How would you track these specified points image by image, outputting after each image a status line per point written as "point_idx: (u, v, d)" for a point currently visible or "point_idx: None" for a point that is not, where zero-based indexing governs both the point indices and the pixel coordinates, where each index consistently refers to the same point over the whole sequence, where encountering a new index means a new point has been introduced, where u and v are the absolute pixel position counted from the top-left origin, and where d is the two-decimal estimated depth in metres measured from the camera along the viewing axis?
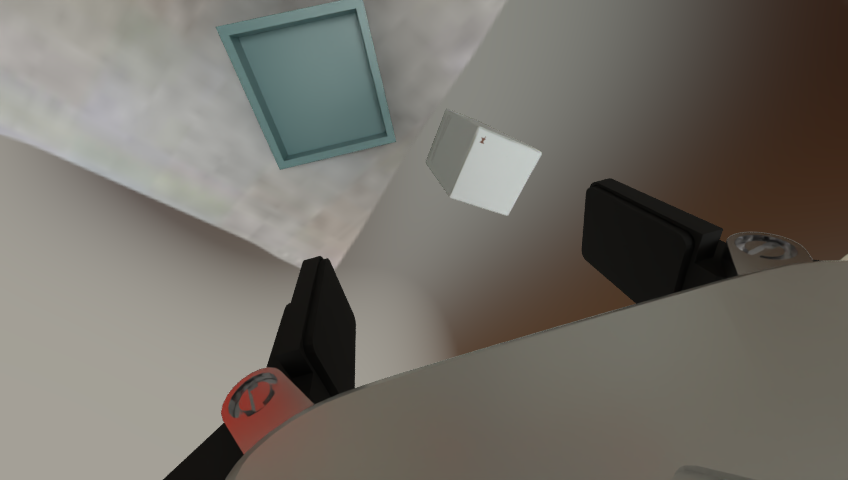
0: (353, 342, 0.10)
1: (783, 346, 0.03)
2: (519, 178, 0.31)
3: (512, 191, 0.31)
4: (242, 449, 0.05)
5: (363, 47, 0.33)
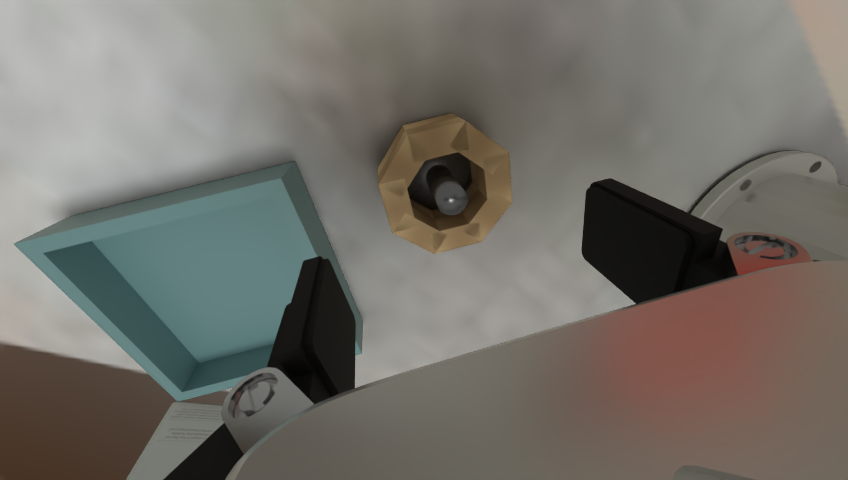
0: (353, 342, 0.10)
1: (784, 347, 0.03)
2: None
3: None
4: (242, 449, 0.05)
5: None
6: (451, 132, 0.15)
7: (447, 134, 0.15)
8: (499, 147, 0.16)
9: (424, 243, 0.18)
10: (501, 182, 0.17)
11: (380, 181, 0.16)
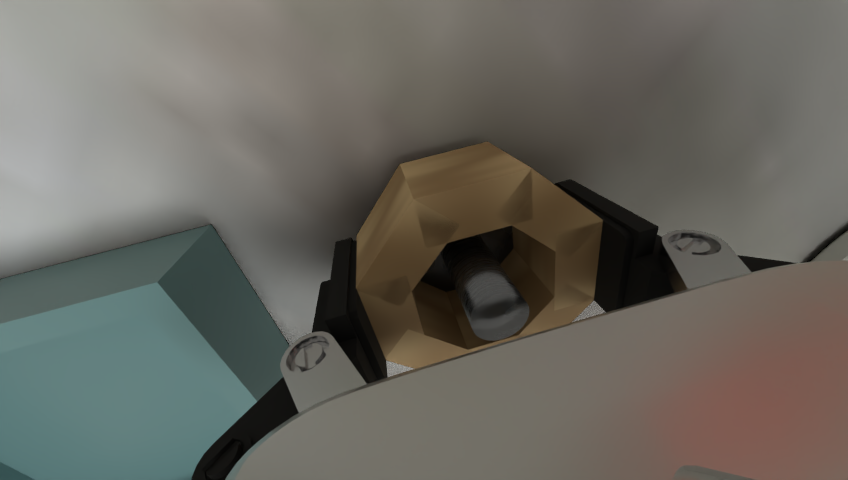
0: None
1: (784, 346, 0.03)
2: None
3: None
4: (294, 399, 0.06)
5: None
6: (501, 190, 0.07)
7: (493, 194, 0.07)
8: (588, 213, 0.08)
9: None
10: (582, 270, 0.09)
11: (359, 283, 0.08)
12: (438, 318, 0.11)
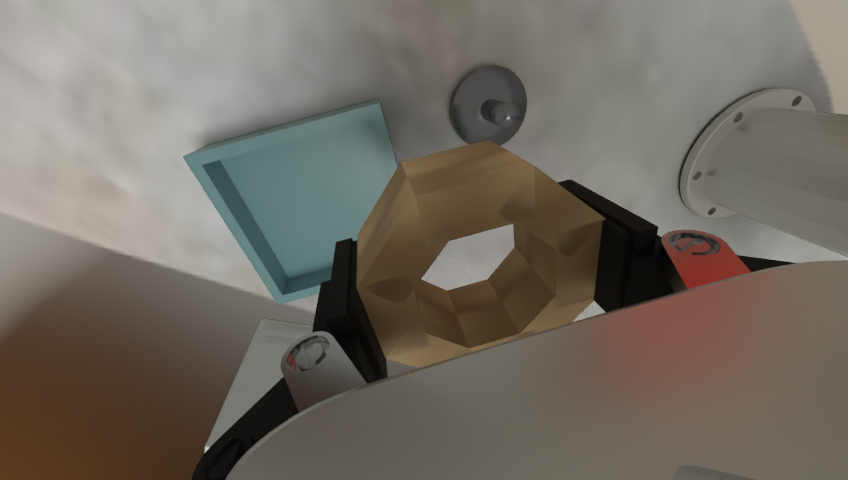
0: None
1: (784, 346, 0.03)
2: None
3: None
4: (294, 399, 0.06)
5: None
6: (503, 188, 0.07)
7: (495, 192, 0.07)
8: (590, 211, 0.08)
9: None
10: (584, 268, 0.09)
11: (360, 281, 0.08)
12: (439, 317, 0.11)
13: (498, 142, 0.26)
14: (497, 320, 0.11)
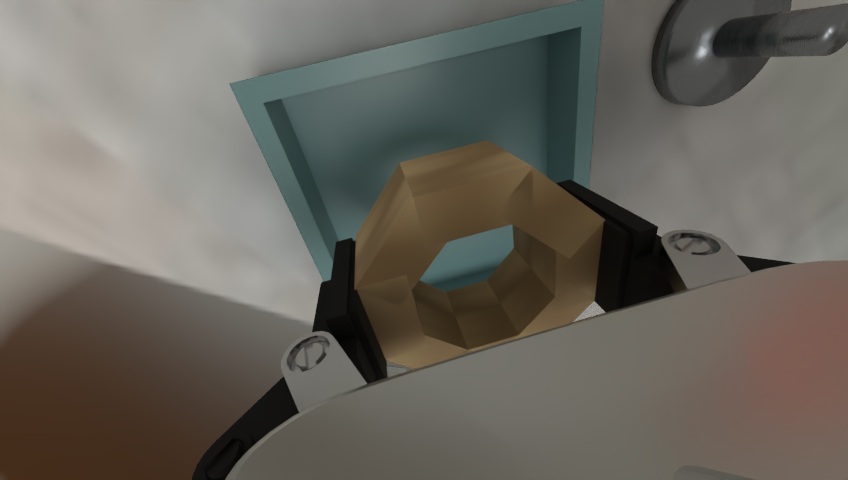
0: None
1: (784, 346, 0.03)
2: None
3: None
4: (294, 399, 0.06)
5: None
6: (502, 189, 0.07)
7: (494, 193, 0.07)
8: (589, 212, 0.08)
9: None
10: (583, 269, 0.09)
11: (358, 282, 0.08)
12: (438, 318, 0.11)
13: (720, 97, 0.16)
14: (496, 321, 0.11)
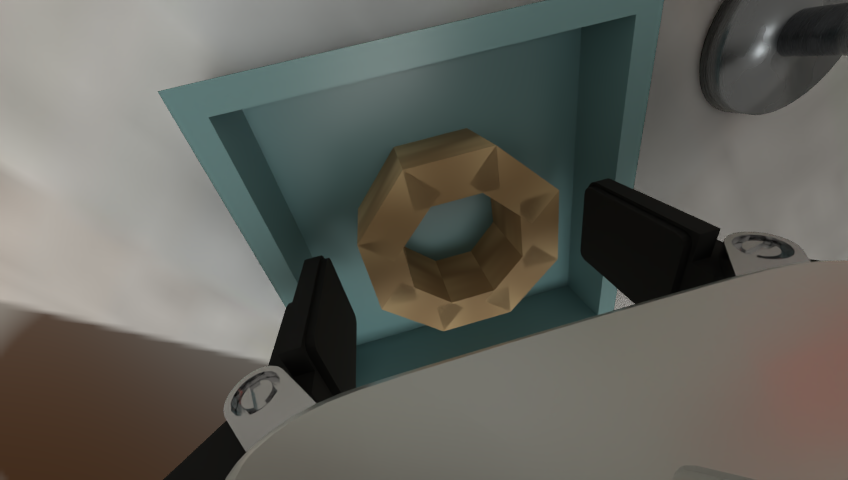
0: (354, 341, 0.10)
1: (784, 347, 0.03)
2: None
3: None
4: (244, 447, 0.05)
5: None
6: (473, 163, 0.09)
7: (466, 167, 0.09)
8: (545, 183, 0.10)
9: (429, 319, 0.12)
10: (544, 233, 0.11)
11: (360, 240, 0.10)
12: (427, 278, 0.13)
13: (779, 103, 0.13)
14: (476, 281, 0.13)
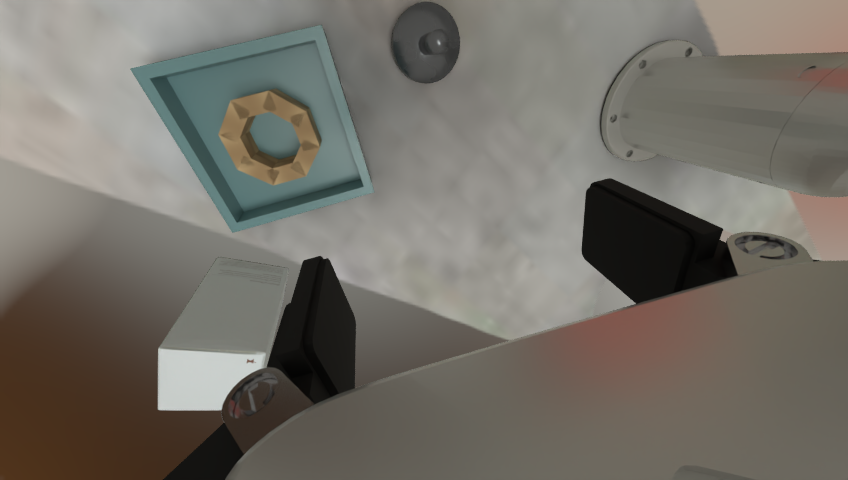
0: (353, 342, 0.10)
1: (783, 346, 0.03)
2: (216, 404, 0.26)
3: (196, 403, 0.25)
4: (242, 449, 0.05)
5: (332, 185, 0.31)
6: (261, 98, 0.24)
7: (258, 99, 0.24)
8: (298, 108, 0.25)
9: (263, 177, 0.26)
10: (307, 132, 0.26)
11: (219, 132, 0.24)
12: (264, 160, 0.27)
13: (437, 77, 0.28)
14: (288, 162, 0.27)
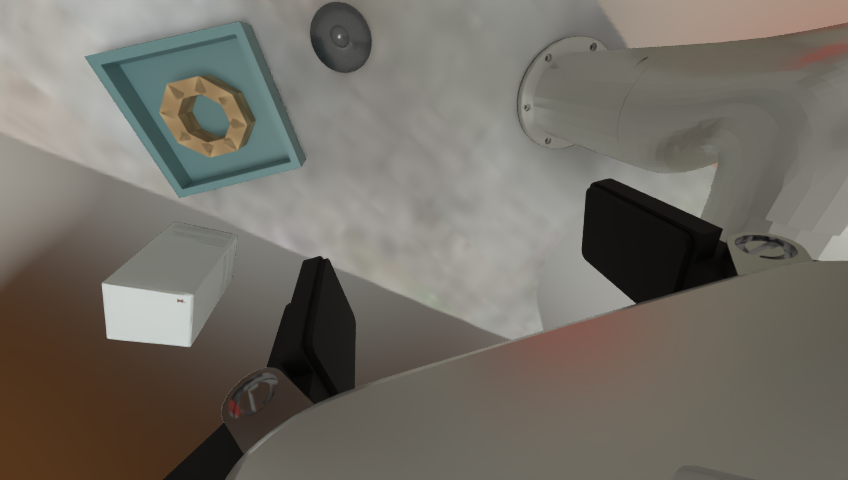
0: (353, 342, 0.10)
1: (784, 347, 0.03)
2: (155, 337, 0.31)
3: (138, 335, 0.31)
4: (242, 449, 0.05)
5: (268, 161, 0.36)
6: (192, 82, 0.29)
7: (190, 83, 0.29)
8: (225, 91, 0.29)
9: (200, 150, 0.31)
10: (235, 112, 0.30)
11: (160, 110, 0.29)
12: (202, 135, 0.32)
13: (353, 68, 0.33)
14: (223, 138, 0.32)
